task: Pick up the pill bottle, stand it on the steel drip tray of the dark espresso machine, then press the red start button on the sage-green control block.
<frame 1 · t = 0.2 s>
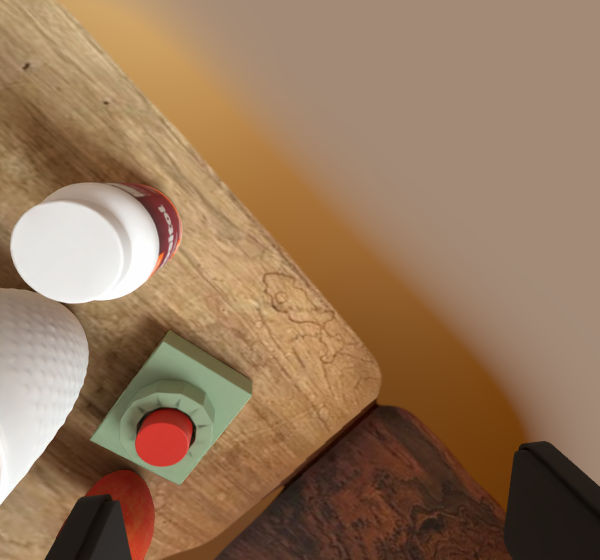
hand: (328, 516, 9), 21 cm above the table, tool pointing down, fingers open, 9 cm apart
apple: (129, 482, 32), on the table
pill bottle: (141, 226, 27), on the table
control block: (177, 401, 31), on the table
start button: (164, 437, 26), point 4 cm above the table, slide at 0.1 cm
mug: (26, 341, 28), on the table
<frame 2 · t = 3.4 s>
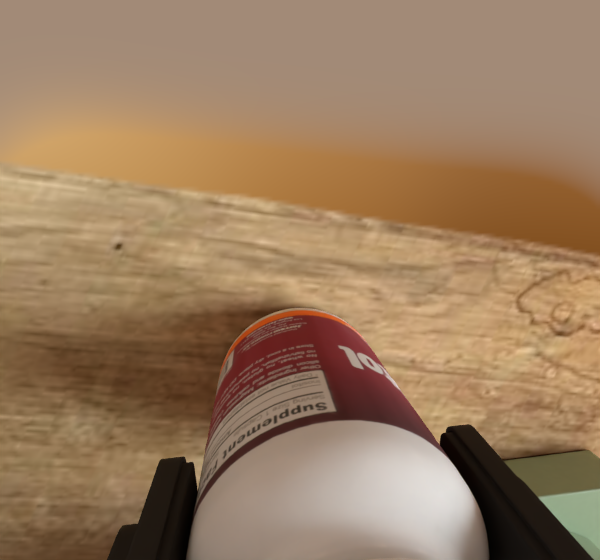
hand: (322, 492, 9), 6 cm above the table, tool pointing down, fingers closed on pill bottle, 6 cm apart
pill bottle: (296, 371, 15), on the table, touching gripper
control block: (501, 541, 19), on the table
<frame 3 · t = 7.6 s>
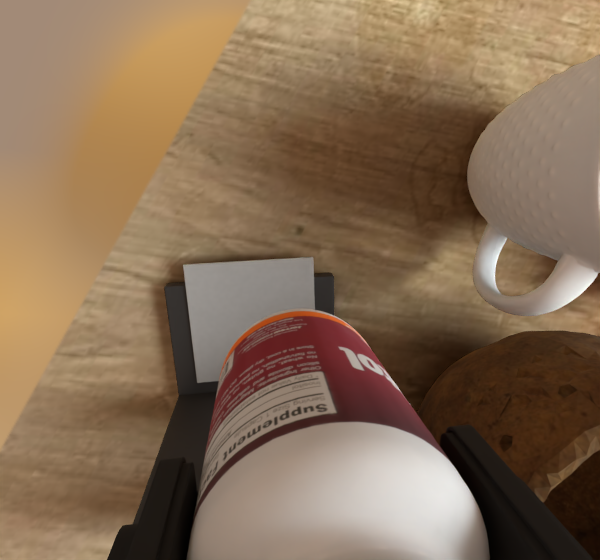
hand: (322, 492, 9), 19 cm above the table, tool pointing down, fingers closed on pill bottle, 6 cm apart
bowl: (479, 395, 33), on the table
dark espresso machine: (267, 499, 33), on the table
pill bottle: (296, 372, 15), point 13 cm above the table, touching gripper
mug: (499, 183, 28), on the table
when the fingers open (7 cm above the table, at t = 11.6 s): pill bottle stays where it is, resting on dark espresso machine.
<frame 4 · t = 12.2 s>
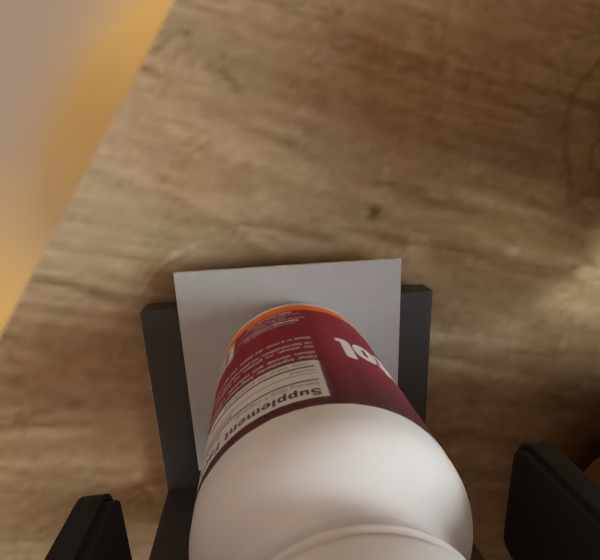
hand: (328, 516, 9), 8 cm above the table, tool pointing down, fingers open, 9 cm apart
pill bottle: (295, 365, 16), point 1 cm above the table, touching dark espresso machine
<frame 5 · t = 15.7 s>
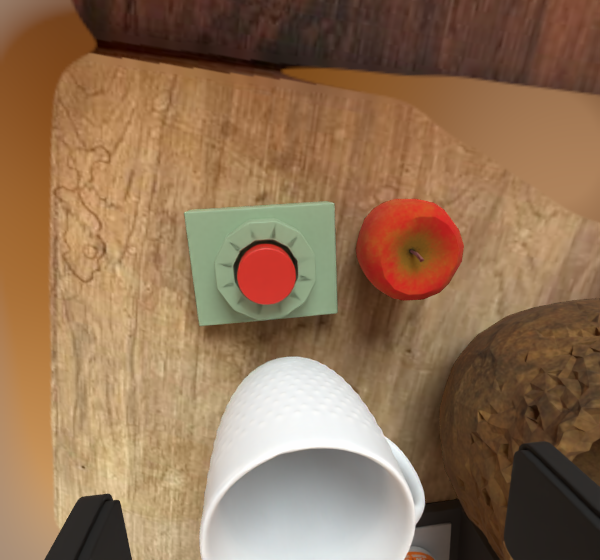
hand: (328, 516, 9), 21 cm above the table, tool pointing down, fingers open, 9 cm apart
bowl: (499, 373, 33), on the table
apple: (380, 237, 29), on the table
dark espresso machine: (557, 530, 39), on the table
control block: (264, 259, 28), on the table
start button: (266, 273, 24), point 4 cm above the table, slide at 0.1 cm
mug: (299, 396, 31), on the table
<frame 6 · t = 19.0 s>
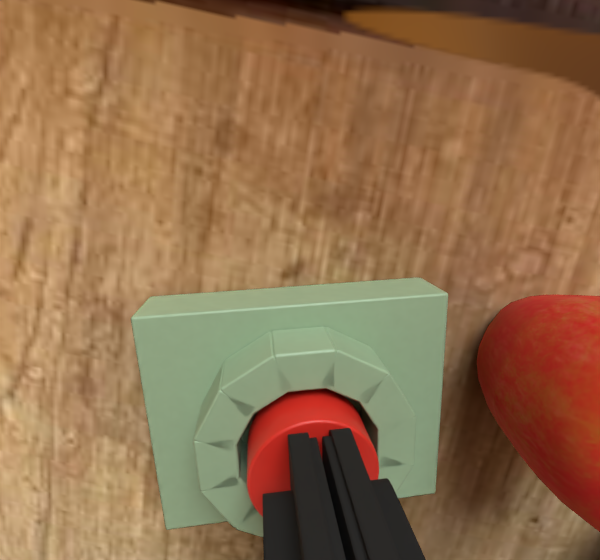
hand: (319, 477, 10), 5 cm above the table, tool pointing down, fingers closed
apple: (506, 338, 16), on the table
control block: (294, 383, 15), on the table
start button: (310, 456, 11), point 4 cm above the table, slide at -0.3 cm, touching gripper
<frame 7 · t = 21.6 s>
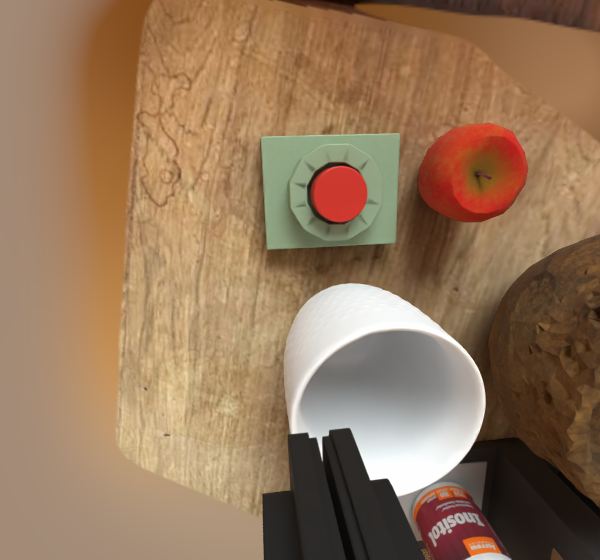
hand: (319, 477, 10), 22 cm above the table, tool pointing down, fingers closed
bowl: (540, 316, 35), on the table
apple: (436, 175, 30), on the table
dark espresso machine: (586, 477, 40), on the table
pill bottle: (438, 502, 38), point 1 cm above the table, touching dark espresso machine
control block: (327, 191, 29), on the table
start button: (338, 194, 25), point 4 cm above the table, slide at 0.1 cm
mug: (350, 329, 33), on the table
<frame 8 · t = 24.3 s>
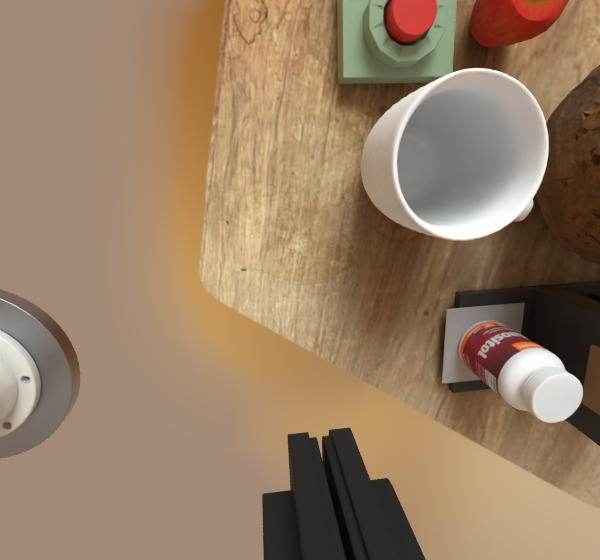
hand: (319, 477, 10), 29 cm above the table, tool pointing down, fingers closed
bowl: (571, 165, 39), on the table
apple: (484, 23, 35), on the table
pill bottle: (481, 343, 42), point 1 cm above the table, touching dark espresso machine
control block: (391, 35, 34), on the table
start button: (410, 13, 30), point 4 cm above the table, slide at 0.1 cm
mug: (406, 171, 37), on the table
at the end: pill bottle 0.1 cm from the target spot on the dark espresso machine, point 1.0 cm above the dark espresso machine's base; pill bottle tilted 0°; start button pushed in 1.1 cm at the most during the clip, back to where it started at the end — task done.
